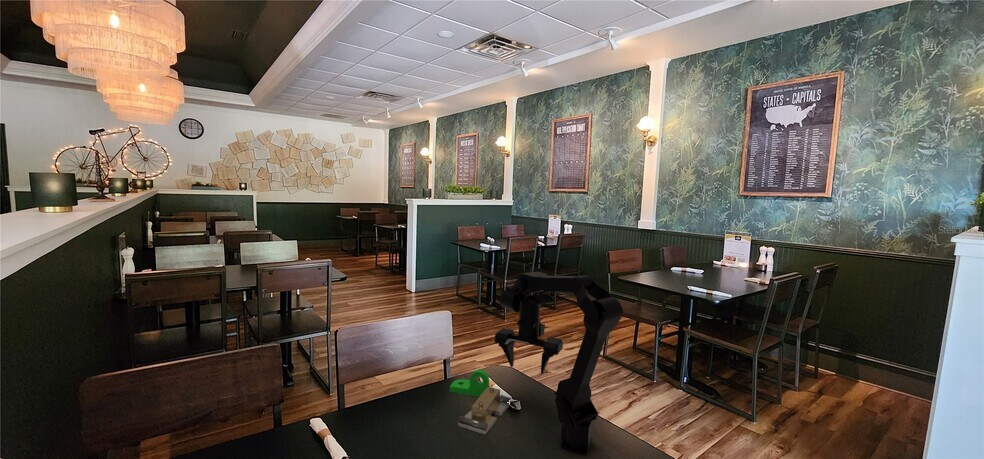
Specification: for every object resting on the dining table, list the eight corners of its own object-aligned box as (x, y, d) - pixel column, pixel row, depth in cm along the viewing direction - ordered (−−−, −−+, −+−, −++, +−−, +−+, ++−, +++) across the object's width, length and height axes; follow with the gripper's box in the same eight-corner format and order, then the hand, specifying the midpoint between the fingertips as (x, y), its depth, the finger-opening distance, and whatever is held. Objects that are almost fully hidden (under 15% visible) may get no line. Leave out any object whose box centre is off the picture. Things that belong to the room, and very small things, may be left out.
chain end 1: (496, 421, 112) (496, 412, 112) (485, 434, 106) (485, 425, 106) (470, 413, 116) (470, 405, 115) (458, 426, 109) (458, 417, 109)
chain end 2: (510, 404, 121) (511, 396, 121) (501, 415, 115) (501, 407, 115) (486, 397, 125) (486, 390, 124) (475, 408, 118) (475, 400, 118)
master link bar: (499, 402, 120) (500, 387, 120) (485, 424, 109) (485, 407, 108) (486, 399, 121) (487, 384, 121) (471, 420, 110) (471, 404, 110)
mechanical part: (492, 389, 130) (492, 365, 130) (486, 398, 125) (487, 373, 124) (456, 383, 133) (456, 360, 133) (449, 392, 128) (450, 367, 127)
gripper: (569, 314, 119) (566, 366, 120) (509, 304, 127) (507, 353, 128) (558, 325, 109) (555, 381, 110) (494, 314, 117) (492, 367, 118)
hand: (527, 370), depth 117 cm, fingers open, 9 cm apart
